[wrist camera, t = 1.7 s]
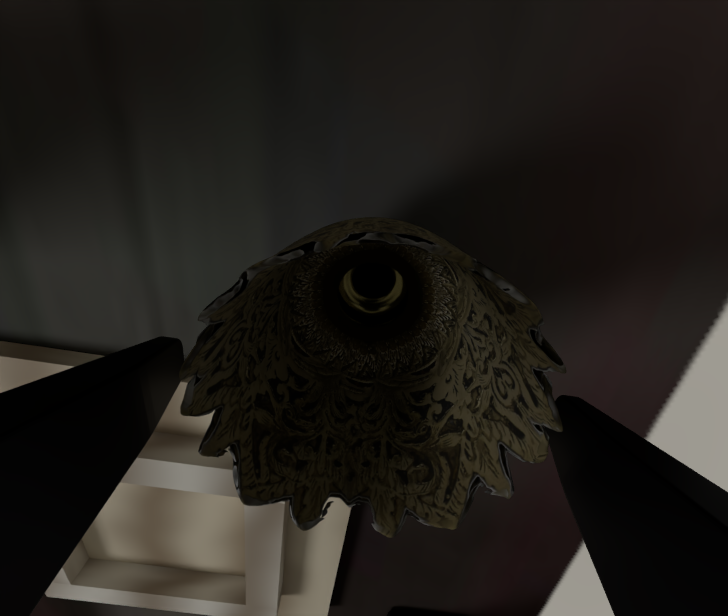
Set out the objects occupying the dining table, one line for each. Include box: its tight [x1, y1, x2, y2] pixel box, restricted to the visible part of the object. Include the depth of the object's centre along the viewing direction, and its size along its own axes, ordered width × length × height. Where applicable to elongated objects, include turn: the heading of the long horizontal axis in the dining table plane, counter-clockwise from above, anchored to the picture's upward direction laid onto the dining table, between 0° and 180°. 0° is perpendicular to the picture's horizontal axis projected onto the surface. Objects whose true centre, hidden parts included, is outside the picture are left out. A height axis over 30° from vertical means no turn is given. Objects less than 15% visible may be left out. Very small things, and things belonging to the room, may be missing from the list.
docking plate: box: [0, 341, 351, 616], centre depth 20 cm, size 22×22×2 cm
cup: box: [179, 217, 566, 538], centre depth 10 cm, size 8×7×8 cm
